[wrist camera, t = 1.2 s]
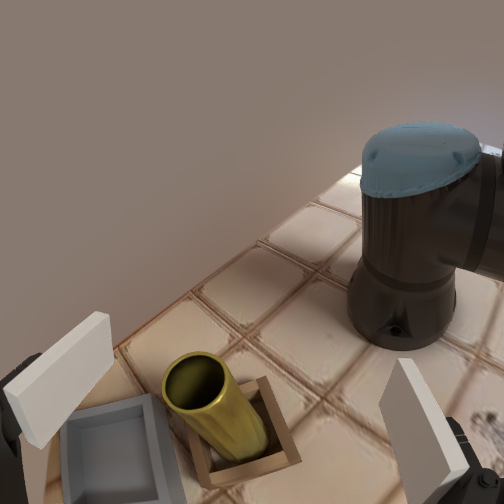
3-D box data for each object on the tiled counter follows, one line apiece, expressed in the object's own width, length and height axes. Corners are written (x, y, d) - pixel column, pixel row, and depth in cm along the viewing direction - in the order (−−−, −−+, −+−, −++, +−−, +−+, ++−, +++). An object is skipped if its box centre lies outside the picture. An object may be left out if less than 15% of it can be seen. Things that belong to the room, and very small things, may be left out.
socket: (270, 386, 33) (265, 375, 31) (302, 461, 26) (300, 456, 24) (190, 413, 32) (180, 404, 30) (210, 490, 25) (200, 486, 23)
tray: (165, 406, 34) (150, 392, 31) (189, 511, 23) (172, 508, 20) (78, 425, 32) (60, 414, 30) (86, 518, 21) (65, 513, 19)
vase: (217, 467, 27) (154, 423, 18) (212, 418, 31) (156, 353, 23) (274, 457, 26) (240, 411, 18) (264, 408, 31) (230, 338, 23)
